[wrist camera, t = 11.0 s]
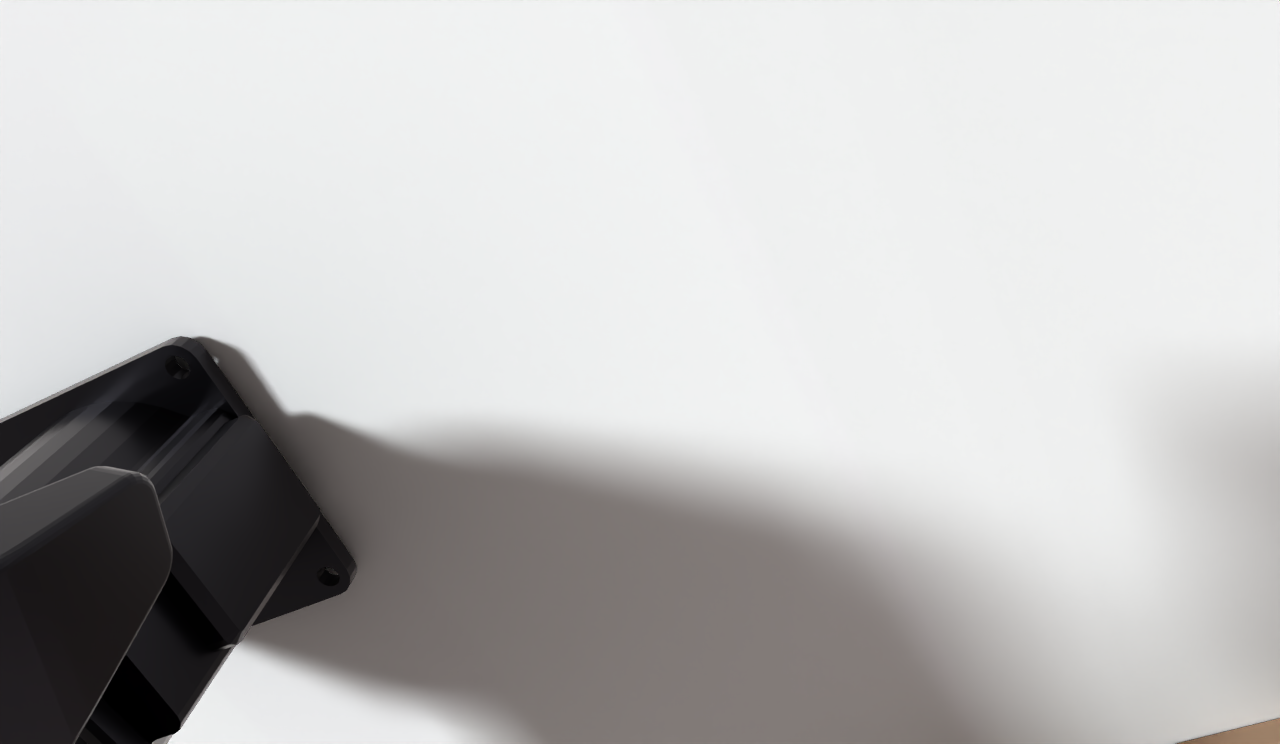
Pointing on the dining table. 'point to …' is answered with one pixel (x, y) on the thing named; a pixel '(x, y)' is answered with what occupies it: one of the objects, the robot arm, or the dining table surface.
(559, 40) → the dining table surface
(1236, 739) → the holder
